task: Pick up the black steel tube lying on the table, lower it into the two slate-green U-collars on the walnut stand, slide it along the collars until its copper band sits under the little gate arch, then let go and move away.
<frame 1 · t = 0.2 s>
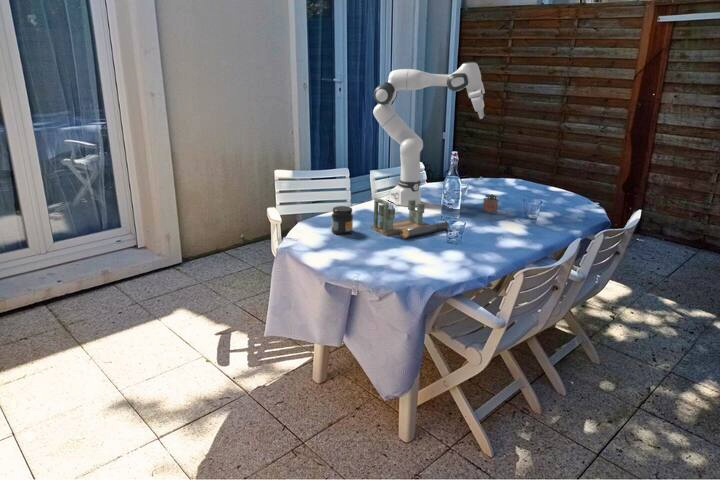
hand: (482, 117, 298), 52 cm above the table, tool tilted 20°, fingers open, 8 cm apart
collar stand: (400, 228, 280), on the table
lighter: (489, 212, 313), on the table
supplement container: (342, 232, 272), on the table
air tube: (425, 233, 273), on the table
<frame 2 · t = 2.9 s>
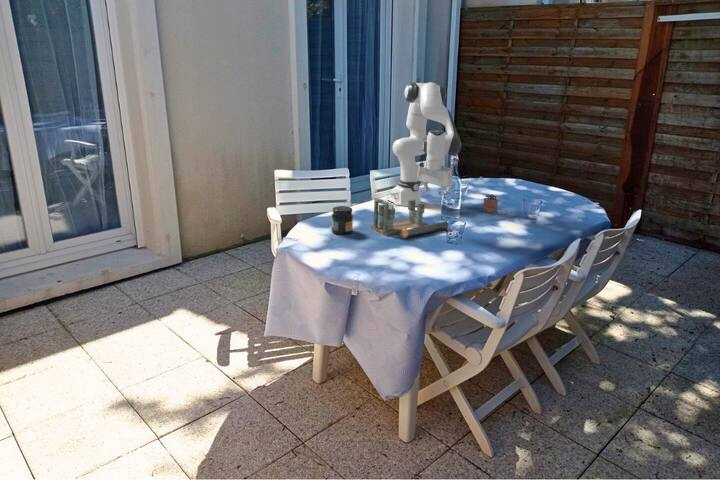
hand: (434, 193, 266), 21 cm above the table, tool pointing down, fingers open, 8 cm apart
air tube: (425, 233, 273), on the table, tilted 13°
everything else where it was.
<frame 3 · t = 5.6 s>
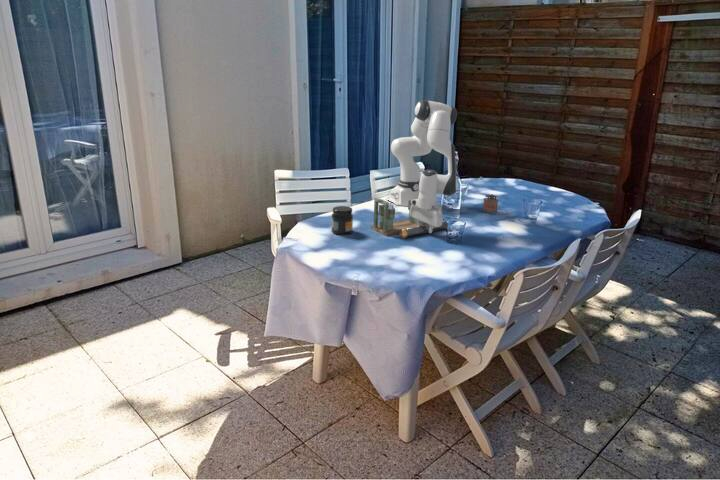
hand: (425, 230, 272), 2 cm above the table, tool pointing down, fingers open, 5 cm apart
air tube: (425, 233, 273), on the table, tilted 22°, touching gripper
everything else where it was.
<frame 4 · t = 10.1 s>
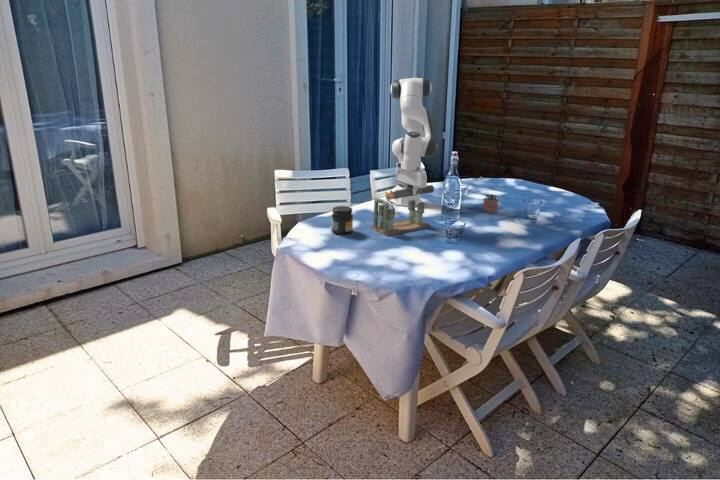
hand: (410, 193, 277), 18 cm above the table, tool pointing down, fingers closed on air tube, 4 cm apart
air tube: (410, 195, 277), point 16 cm above the table, touching gripper
everything else where it was.
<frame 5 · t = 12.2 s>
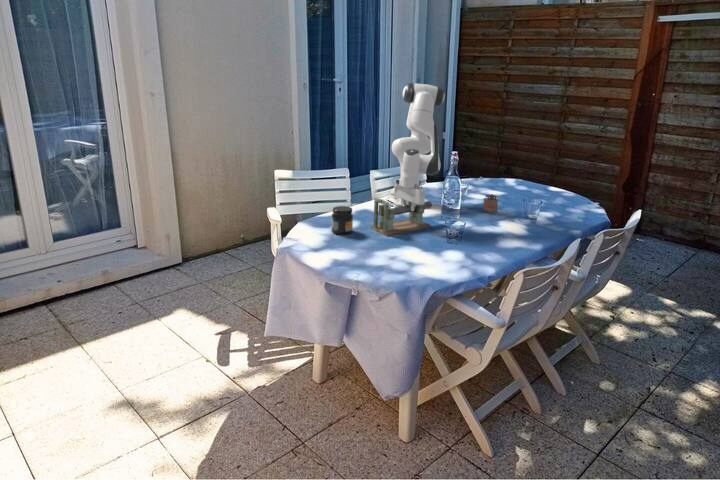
hand: (408, 209, 279), 9 cm above the table, tool pointing down, fingers closed on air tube, 4 cm apart
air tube: (408, 212, 280), point 8 cm above the table, touching gripper
everything else where it was.
when the fingers open (9 cm above the table, at t = 14.1 s): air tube stays where it is, resting on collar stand.
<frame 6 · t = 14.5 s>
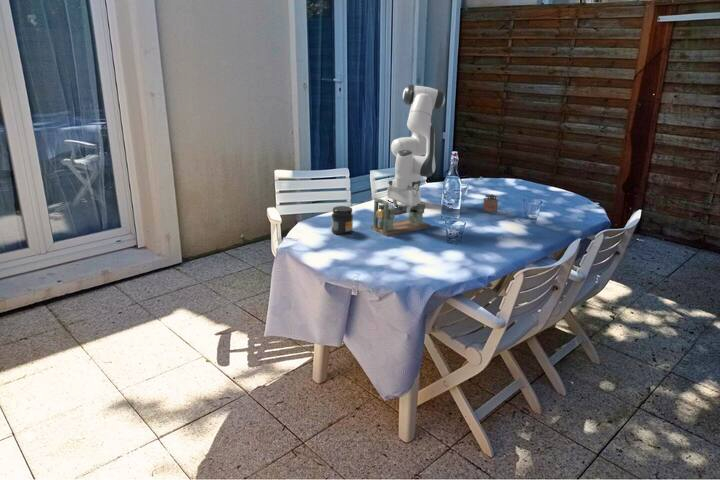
hand: (401, 210, 277), 9 cm above the table, tool pointing down, fingers open, 8 cm apart
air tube: (401, 213, 278), point 8 cm above the table, touching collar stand
everything else where it was.
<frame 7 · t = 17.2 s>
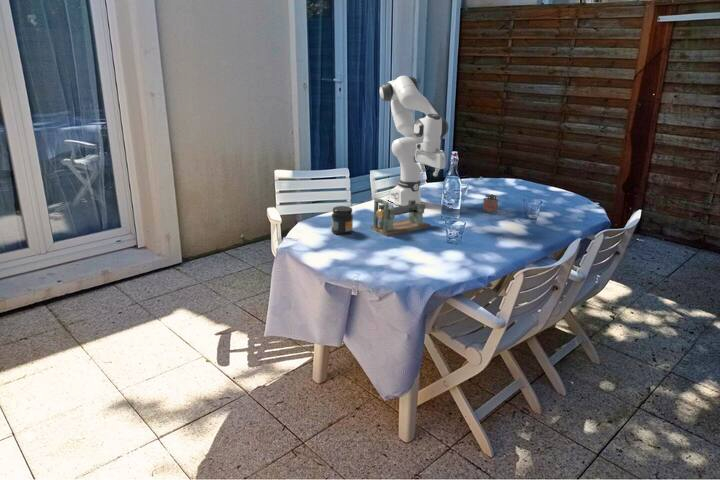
hand: (429, 173, 283), 26 cm above the table, tool pointing down, fingers open, 8 cm apart
nothing on the table moved.
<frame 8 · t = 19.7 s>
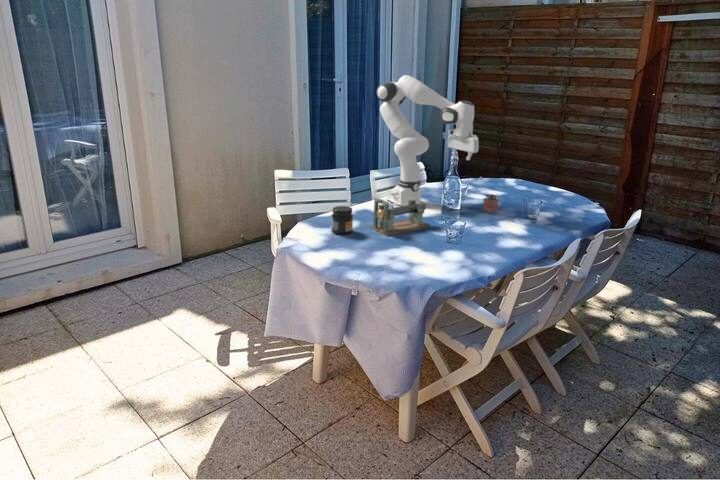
hand: (461, 158, 296), 31 cm above the table, tool pointing down, fingers open, 8 cm apart
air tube: (401, 213, 278), point 8 cm above the table, tilted 10°, touching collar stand
everything else where it was.
at the end: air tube 0.0 cm off-centre on the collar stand, point 7.5 cm above the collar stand's base; the gripper is holding nothing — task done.
